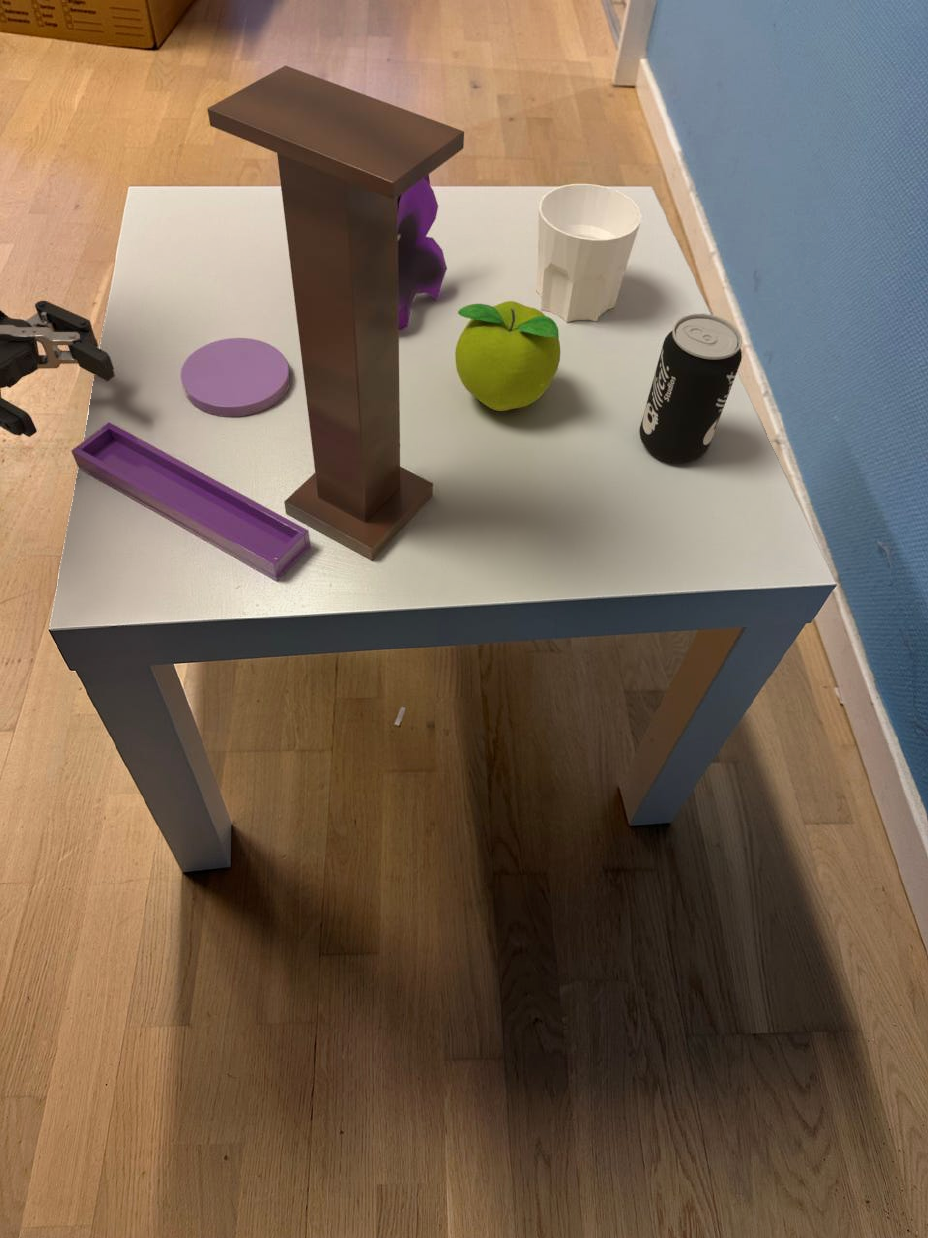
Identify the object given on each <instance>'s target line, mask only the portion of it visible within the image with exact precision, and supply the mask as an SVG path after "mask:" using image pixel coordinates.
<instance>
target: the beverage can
mask: <svg viewBox="0 0 928 1238" xmlns="http://www.w3.org/2000/svg"><path fill="white" fill-rule="evenodd" d="M742 344H743V337H742V334H741V332H740V330H739V329H738V328H737V327H736V325H734V324H733V323H732V322H730V321H728V320H727V319H725V318H724V317H723V318H722V317H720V316H718V315H715V314H709V313H692V314H691V313H690V314H687V315H684V316H682V317H680V318H679V319H678V320H676V322H675V323H674V324H673V327H672V330H671V331H670V332H669V333H668V334H667V335H666V336H665V337H664V340H663V343H662V346H661V351H660V354H659V358H658V361H657V363H656V364H657V365H656V368H655V372H654V376H653V379H652V383H651V387H650V390H649V394H648V397H647V401H646V404H645V406H644V407H645V408H644V411H643V414H642V417H641V418H642V419H641V422H640V425H639V429H638V430H639V438H640V441H641V443H642V444H643V445H644V447H645V448H646V450H647V451H648V452H649V453H650V454H651V455H653V456H654V457H655V458H657V459H659V460H661V461H663V462H667V463H673V464H683V463H689V462H692V461H694V460H697V459H699V458H700V457H702V456H704V455H705V454H706V453H707V451H708V450H709V448H710V446H711V443H712V440H713V437H714V435H715V432H716V429H717V427H718V424H719V422H720V419H721V416H722V413H723V410H724V408H725V405H726V403H727V400H728V397H729V395H730V392H731V390H732V387H733V384H734V381H735V378H736V376H737V373H738V370H739V369H740V365H741V362H742V360H743V359H742V358H743V355H742V354H743V353H742V352H743V351H742V348H741V347H742Z"/></svg>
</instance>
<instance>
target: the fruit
mask: <svg viewBox="0 0 928 1238" xmlns="http://www.w3.org/2000/svg"><path fill="white" fill-rule="evenodd" d="M457 314H458V315H459V316H461V317H463V318H466V319H469V321H468V322H467V324H466V325H465V327H464V329H463V330H462V331H461V333H460V335H459V338H458V340H457V342H456V346H455V352H454V353H455V354H454V355H455V358H454V359H455V367H456V372H457V374H458V377H459V379H460V381H461V383H462V385H463V387H464V388H465V389H466V390H467V392H468V393H469V394H471V395H472V396H473V397H474V398H476V399H477V401H479V402H481V403H482V404H483V405H485V406H486V407H488V408H489V409H492V410H493V411H497V412H504V411H509V410H513V409H521V408H525V407H527V406H529V405H531V404H533V403H534V402H536V401H537V400H538V399H540V398H541V397H542V396H543V394H544V393H545V392H546V391H547V389H548V388H549V386H550V384H552V381H553V379H554V377H555V375H556V373H557V371H558V368H559V365H560V360H561V343H560V339H559V338H560V337H559V335H560V333H559V327H558V325H557V323H556V322H555V321H554V320H553V318H551V317H549V316H547V315H545V314H544V313H543V312H542V310H539V309H538V308H535V307H530V306H528V305H524V304H522V303H520V302H517V301H513V300H508V301H504V302H501V303H498V304H496V305H493V306H492V305H490V304H486V303H485V304H484V303H471V304H467V305H465V306H463V307H461V308H460V309H459V310H458V311H457Z"/></svg>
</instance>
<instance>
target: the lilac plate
mask: <svg viewBox="0 0 928 1238" xmlns="http://www.w3.org/2000/svg"><path fill="white" fill-rule="evenodd" d="M180 382H181V386H182V390H183V393H184V395H185V397H186V399H187V400H188V401H189V402H190V403H191V404H192V405H193V406H194V407H196V408H197V409H198V410H201V411H203V412H205V413H208V414H210V415H214V416H218V417H227V418H228V417H229V418H236V417H245V416H250V415H254V414H258V413H261V412H263V411H266V410H267V409H269V408H271V407H273V406H274V405H276V404H278V402H279V401H280V400H281V399H282V398H283V397H284V396H285V394H286V393H287V391H288V389H289V386H290V383H291V373H290V368H289V363H288V360H287V359H286V356H285V355H284V354H283V353H282V352H281V351H280V350H279V349H278V348H276V346H273V345H271V344H270V343H267V342H266V341H262V340H259V339H254V338H247V337H232V338H231V337H230V338H222V339H219V340H215V341H213V342H209V343H207V344H204V345H203V346H201V347H199V348H197V349H196V350H195V351H194V352H192V353H191V354H190V355H189V356H188V357H187V358H186V360H185V361H184V363H183V364H182V367H181V371H180Z"/></svg>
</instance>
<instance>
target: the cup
mask: <svg viewBox="0 0 928 1238" xmlns="http://www.w3.org/2000/svg"><path fill="white" fill-rule="evenodd" d="M641 212H642V211H641V210H640V207H639V206H638V205H637V203H636V202H635V201H634V200H633V199H632V198H631V197H629V196H628V195H626V194H625V193H623V192H621V191H618V190H616V189H614V188H612V187H607V186H603V185H599V184H593V183H592V184H591V183H571V184H565V185H561V186H558V187H556V188H553V189H551V190H550V191H548V192H547V193H545V194H544V195H543V196H542V197H541V199H540V201H539V205H538V230H537V232H538V235H537V237H538V238H537V239H538V240H537V248H538V249H537V251H538V252H537V263H536V264H537V267H536V284H535V285H536V286H535V292H536V293H537V294H539V296H540V298H541V306H540V311H546V312H549V313H552V314H554V315H556V316H557V317H560V318H562V320H564V322H565V323H570V322H572V321H592V322H598V321H599V317H600V316H602V314H604V313H605V312H606V311H608V310H611V309H614V308H615V306H616V303H617V299H618V296H619V293H620V289H621V287H622V283H623V280H624V276H625V272H626V270H627V266H628V263H629V259H630V257H631V253H632V250H633V247H634V244H635V241H636V238H637V234H638V231H639V228H640V225H641V222H642V213H641Z"/></svg>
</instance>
